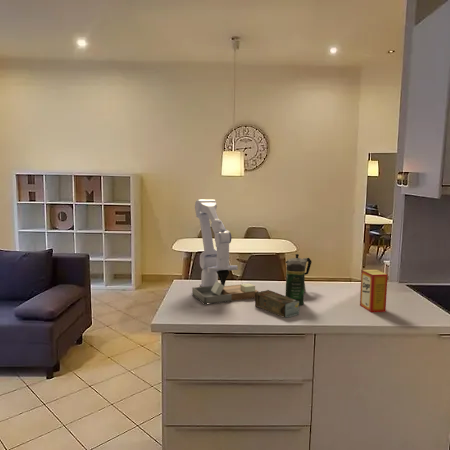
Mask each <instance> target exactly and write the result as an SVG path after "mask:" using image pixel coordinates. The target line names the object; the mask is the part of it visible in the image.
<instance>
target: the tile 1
mask: <svg viewBox="0 0 450 450" xmlns="http://www.w3.org/2000/svg"><path fill="white" fill-rule="evenodd" d="M224 286H225V285H222V284H221V282H219V281H218V282H217V281H216V282H215V284H214V286H213V287H212V289H211V291H212V292H214V293H215V294H217V295H220V293H221V292H222V290H223V288H224Z"/></svg>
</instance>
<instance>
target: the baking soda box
mask: <svg viewBox="0 0 450 450" xmlns="http://www.w3.org/2000/svg"><path fill="white" fill-rule="evenodd" d="M360 272H361V275H360V296H359V306H360V307H362V308H363V309H364V310H366V311H367V312H370V313H385V312H386V311H387V290H388V274H387V273H385V272H384V271H381V270H379V269H361V271H360Z"/></svg>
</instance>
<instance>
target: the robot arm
mask: <svg viewBox="0 0 450 450" xmlns="http://www.w3.org/2000/svg"><path fill="white" fill-rule="evenodd" d="M217 205H218V204H217V200H216V199H215V198H214V199H213V198H212V199H196V200H195V204H194V211H195V217H196V218H198V220H199V224H200V225H199V226H200V230H201V231H200V232H201V238H202V244H203V251H202V252H201V253H200V255H199V266H200V268H201V270H202V271H201V276H200V278H201V279H200V281H201V282H200V284H199V287H206V286H214V284H215V282H216V281H217V282H219V281H220V282H219V283H220V284H222V285H224V286H226V281H227V279H228V276H229V274H230V271H239V266H238V265H236V264H235V265H233V264H232V265H230V244H231V242H232V233H231V231H230V230H228V229H226V227H225V225H224V223H223V221H222V219H219V216H218V214H217V213H218V212H217V207H218V206H217ZM212 231H213V233H214V239H213V235H212ZM213 240H214V241H213ZM214 242H215V248H216V249H215V248H214Z"/></svg>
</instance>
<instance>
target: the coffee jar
mask: <svg viewBox="0 0 450 450" xmlns="http://www.w3.org/2000/svg"><path fill="white" fill-rule="evenodd" d="M285 264H286V266H285V267H286V270H285V271H286V274H285V275H286V276H285V295H284V296H287V297H289V298H292V299H295V300H298V301H299V306H302V305H304V302H305V301H304V299H305V296H304V295H305V292H304V282H305V277H306V275H305V273H306V268H305V265H304V264H303V263H302V262H300V261H292V260H291V261H290V262H288V263H285Z"/></svg>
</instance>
